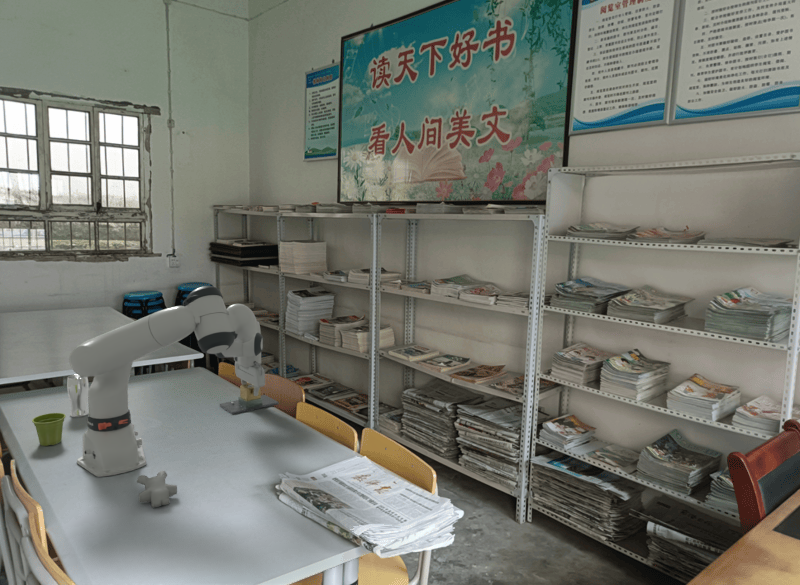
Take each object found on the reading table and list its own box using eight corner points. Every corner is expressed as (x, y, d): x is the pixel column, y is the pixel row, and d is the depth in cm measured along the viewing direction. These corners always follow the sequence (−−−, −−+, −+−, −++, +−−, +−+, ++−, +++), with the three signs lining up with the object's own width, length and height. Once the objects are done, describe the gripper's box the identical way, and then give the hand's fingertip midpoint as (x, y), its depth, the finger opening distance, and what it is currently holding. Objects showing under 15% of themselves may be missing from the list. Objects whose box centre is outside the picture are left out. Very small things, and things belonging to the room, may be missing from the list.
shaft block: (278, 404, 229) (278, 384, 228) (232, 414, 216) (231, 393, 215) (265, 397, 238) (264, 377, 237) (219, 406, 225) (219, 385, 224)
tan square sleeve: (260, 398, 225) (260, 386, 225) (246, 401, 221) (246, 388, 221) (254, 394, 230) (253, 382, 229) (240, 397, 226) (240, 385, 225)
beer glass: (83, 417, 208) (81, 379, 206) (64, 417, 208) (62, 378, 206) (93, 411, 215) (91, 374, 213) (75, 411, 215) (73, 373, 213)
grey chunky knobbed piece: (141, 499, 142) (132, 470, 154) (142, 517, 143) (133, 487, 155) (180, 490, 147) (169, 463, 159) (180, 507, 148) (169, 479, 161)
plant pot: (51, 449, 180) (49, 424, 179) (26, 446, 182) (25, 421, 180) (73, 438, 189) (72, 414, 188) (49, 436, 191) (48, 411, 190)
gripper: (269, 363, 218) (269, 397, 219) (246, 353, 233) (246, 385, 235) (254, 365, 214) (254, 400, 215) (231, 355, 229) (232, 387, 231)
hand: (250, 392), depth 225 cm, fingers open, 8 cm apart
